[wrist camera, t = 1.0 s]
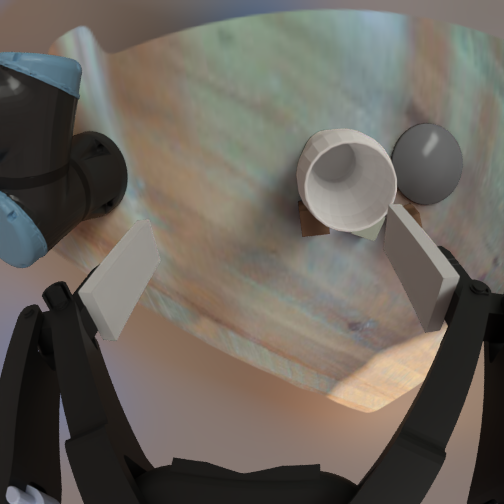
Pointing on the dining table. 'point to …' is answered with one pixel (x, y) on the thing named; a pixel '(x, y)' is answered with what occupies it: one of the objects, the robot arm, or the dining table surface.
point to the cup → (346, 179)
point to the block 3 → (413, 213)
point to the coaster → (427, 163)
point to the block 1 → (310, 223)
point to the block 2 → (370, 231)
